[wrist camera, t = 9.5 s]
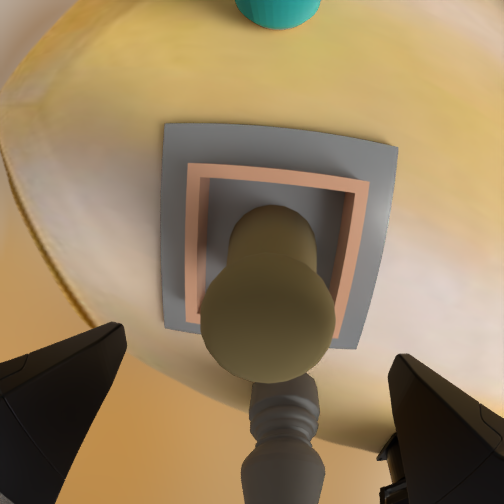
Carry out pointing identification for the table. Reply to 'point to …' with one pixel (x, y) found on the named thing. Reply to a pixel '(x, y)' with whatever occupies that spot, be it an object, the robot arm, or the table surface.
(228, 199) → the shaker socket
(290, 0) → the beverage can
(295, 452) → the candle holder
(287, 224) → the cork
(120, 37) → the table surface
